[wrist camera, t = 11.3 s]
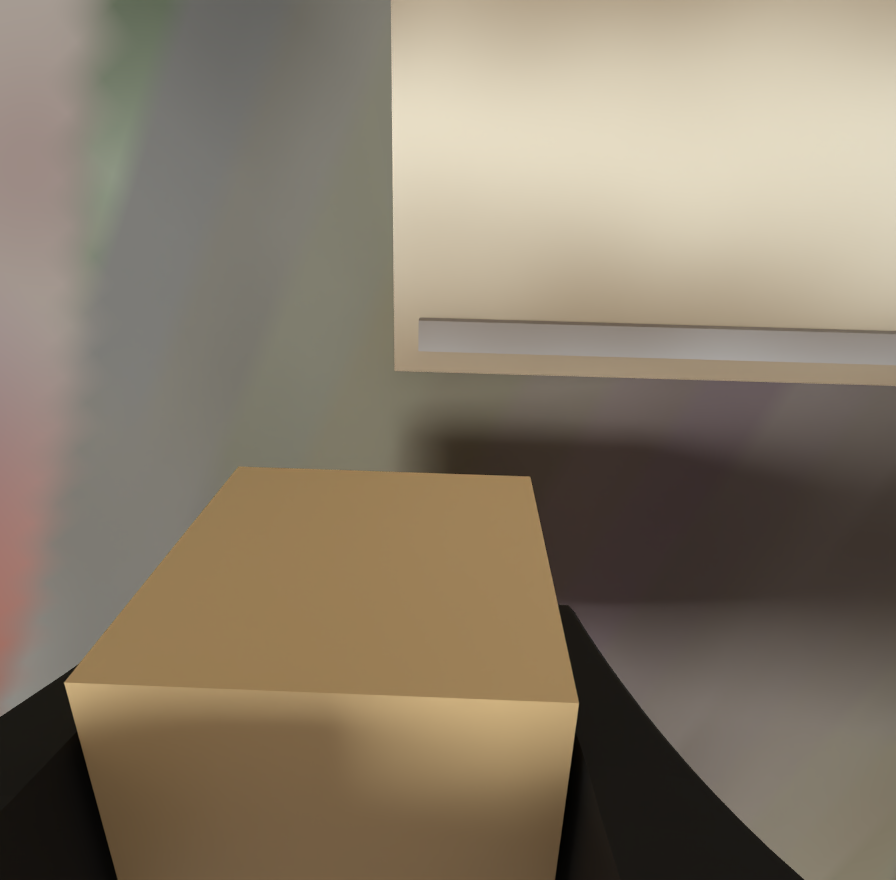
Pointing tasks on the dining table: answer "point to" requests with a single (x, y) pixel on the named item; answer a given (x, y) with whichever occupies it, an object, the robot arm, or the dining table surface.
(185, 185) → the dining table surface
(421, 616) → the ochre block
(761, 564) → the dining table surface
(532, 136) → the track
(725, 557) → the dining table surface
